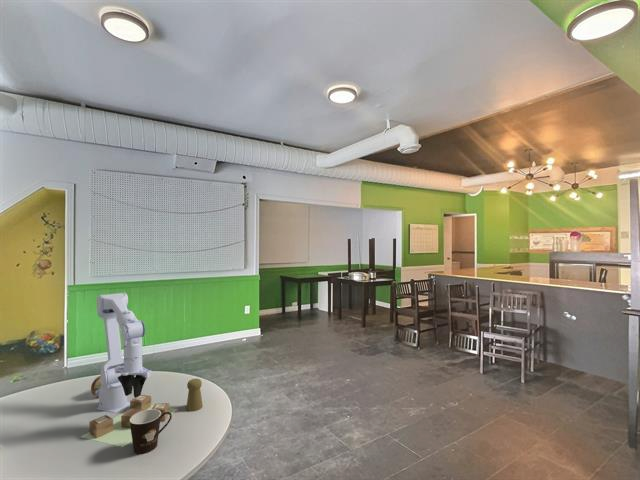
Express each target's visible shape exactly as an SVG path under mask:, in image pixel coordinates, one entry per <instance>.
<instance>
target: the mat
mask: <svg viewBox="0 0 640 480" xmlns="http://www.w3.org/2000/svg"><path fill="white" fill-rule="evenodd" d="M154 405H155V404H152V403H151V407H149V408H148V409H147V410H149V409H152V408H153V406H154ZM129 410H130V408H129V409H127V410H126V411H123V412H122V413H120V414H119V415H117V416H115V417H113V418H112V419H113V431H112V432H110V433H107V434H105V435H103V436H101V437H99V438H95V437H94V436H92V435H91V434H89V432H87V433H85V434H83V435H81V436H80V438H83V439H87V440H91V441H96V442H100V443H104V444H108V445H112V446H116V447H119V448H120V447H121V448H125V446H127V445H128V444H130V443H132V434H131V428H121V416H122V415H123V414H125V413H126V412H127V411H129ZM178 410H179V409H178V408H173V407H169V412H170V413H171V415H172V414H174V413H176V412H177V411H178ZM168 417H170V415H168ZM161 422H162V421H160V423H161Z"/></svg>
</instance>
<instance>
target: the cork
mask: <svg viewBox="0 0 640 480" xmlns="http://www.w3.org/2000/svg"><path fill="white" fill-rule="evenodd" d="M202 384H203V383H202V380H201V379H200V378H192V379H190V380H189V381H187V386H186V387H187V389H188V394H187V401H186V408H185V409H186V411H187V412H192V413H193V412H198V411H199V410H201V409H203V405H204V404H203V400H202V392H201V387H202Z"/></svg>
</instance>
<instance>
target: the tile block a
mask: <svg viewBox="0 0 640 480" xmlns="http://www.w3.org/2000/svg"><path fill="white" fill-rule="evenodd" d="M88 423H89V430H88V431H89V432H88V433H89V434H91V435H92V436H94V437H95V438H99V437H101V436H103V435H105V434H107V433H110V432H112V431H113V418H112V417H110V416H109V415H107V414H104V415H103V416H99V417H97V418H95V419H93V420H89V422H88Z"/></svg>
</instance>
